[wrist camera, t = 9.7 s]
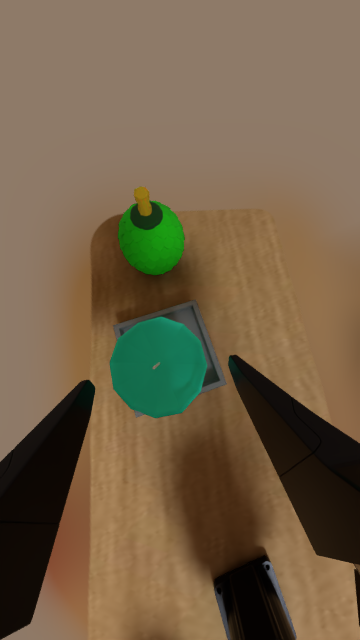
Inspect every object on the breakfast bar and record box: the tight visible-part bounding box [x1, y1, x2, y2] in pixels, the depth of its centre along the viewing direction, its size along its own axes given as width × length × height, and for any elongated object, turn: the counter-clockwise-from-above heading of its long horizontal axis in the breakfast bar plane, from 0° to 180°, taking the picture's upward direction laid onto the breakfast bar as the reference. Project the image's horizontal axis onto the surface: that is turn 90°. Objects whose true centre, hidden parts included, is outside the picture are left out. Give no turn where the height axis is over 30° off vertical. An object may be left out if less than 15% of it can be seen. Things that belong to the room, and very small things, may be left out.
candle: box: [110, 317, 207, 418], centre depth 13 cm, size 6×6×12 cm
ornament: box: [118, 187, 185, 275], centre depth 17 cm, size 8×8×10 cm
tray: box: [113, 300, 227, 417], centre depth 19 cm, size 11×11×2 cm
